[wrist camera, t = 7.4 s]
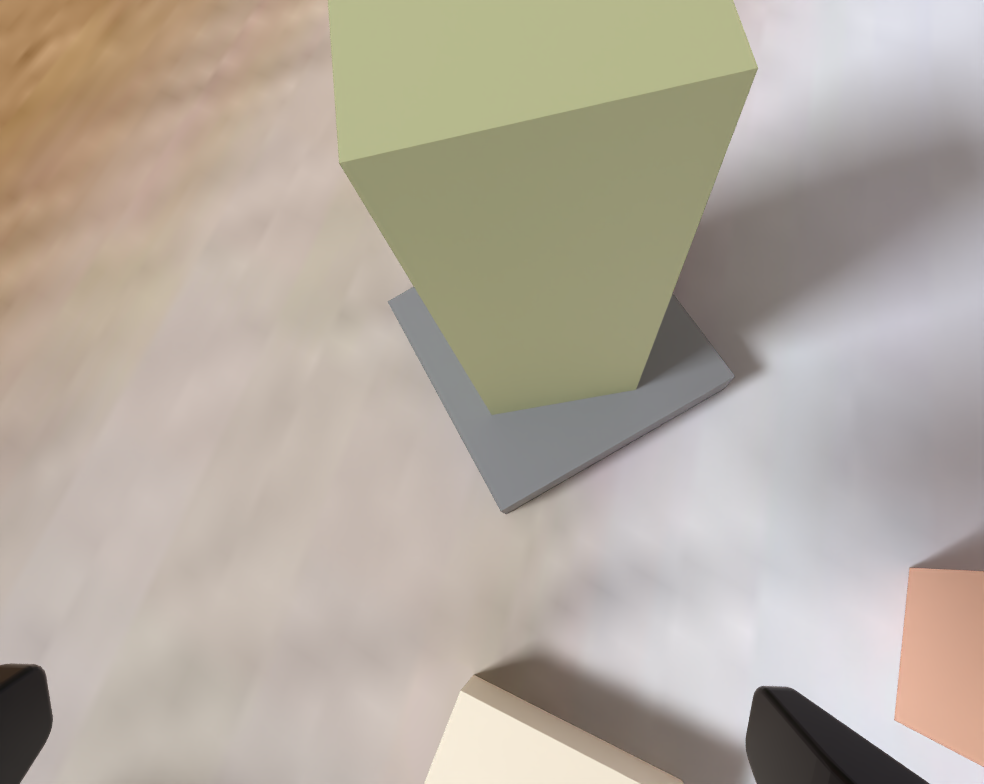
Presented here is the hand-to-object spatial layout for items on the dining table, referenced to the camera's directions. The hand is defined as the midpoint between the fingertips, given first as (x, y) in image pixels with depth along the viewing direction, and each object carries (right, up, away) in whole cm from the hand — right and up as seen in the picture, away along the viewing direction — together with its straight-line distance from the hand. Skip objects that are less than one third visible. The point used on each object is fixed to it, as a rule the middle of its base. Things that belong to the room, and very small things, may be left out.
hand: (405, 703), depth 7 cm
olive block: (+3, +6, +13) cm, 14 cm away
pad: (+3, +6, +14) cm, 15 cm away
